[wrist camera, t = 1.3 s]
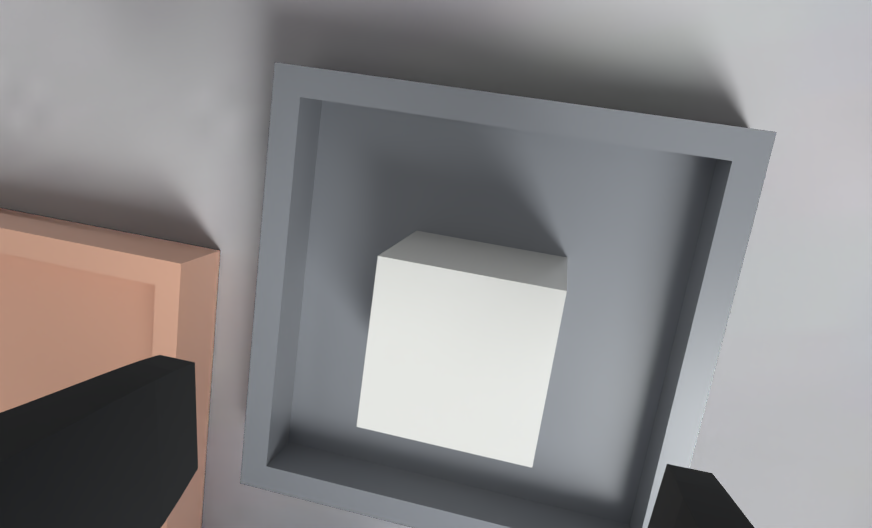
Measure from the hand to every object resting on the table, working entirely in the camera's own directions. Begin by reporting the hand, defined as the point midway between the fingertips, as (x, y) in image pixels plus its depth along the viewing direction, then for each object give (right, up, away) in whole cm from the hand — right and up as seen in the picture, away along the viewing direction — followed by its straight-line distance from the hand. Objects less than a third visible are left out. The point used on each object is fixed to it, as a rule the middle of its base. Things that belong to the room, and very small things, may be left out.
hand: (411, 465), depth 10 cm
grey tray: (+2, +2, +10) cm, 10 cm away
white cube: (+2, +1, +9) cm, 10 cm away
